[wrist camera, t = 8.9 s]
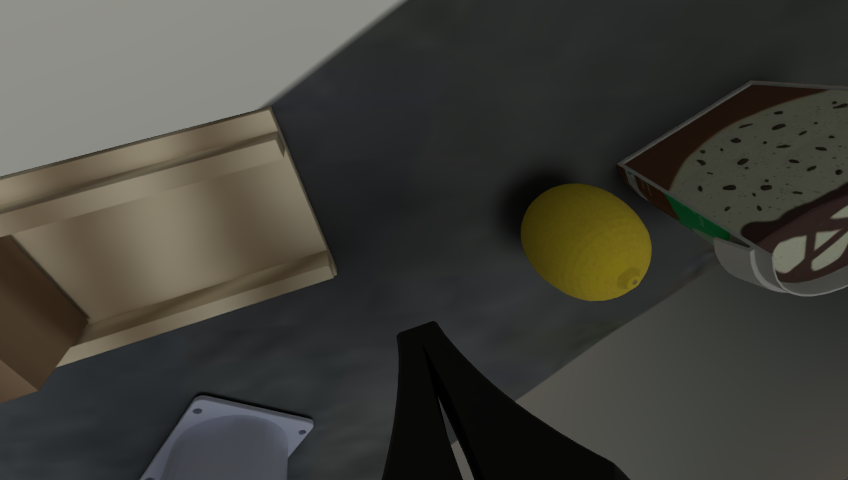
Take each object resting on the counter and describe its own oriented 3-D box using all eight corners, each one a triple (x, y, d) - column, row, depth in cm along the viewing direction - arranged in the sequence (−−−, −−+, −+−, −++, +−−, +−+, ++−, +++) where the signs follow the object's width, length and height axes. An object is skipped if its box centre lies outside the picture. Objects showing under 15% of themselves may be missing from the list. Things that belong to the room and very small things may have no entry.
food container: (614, 245, 26) (756, 348, 18) (595, 176, 23) (760, 263, 15) (768, 151, 26) (988, 211, 18) (772, 66, 23) (1048, 91, 14)
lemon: (590, 212, 24) (697, 284, 18) (519, 261, 25) (597, 349, 18) (563, 145, 21) (680, 201, 15) (482, 202, 22) (561, 281, 15)
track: (270, 106, 16) (258, 134, 12) (336, 267, 21) (343, 326, 17) (-210, 231, 14) (-426, 317, 10) (-15, 379, 19) (-106, 479, 15)
